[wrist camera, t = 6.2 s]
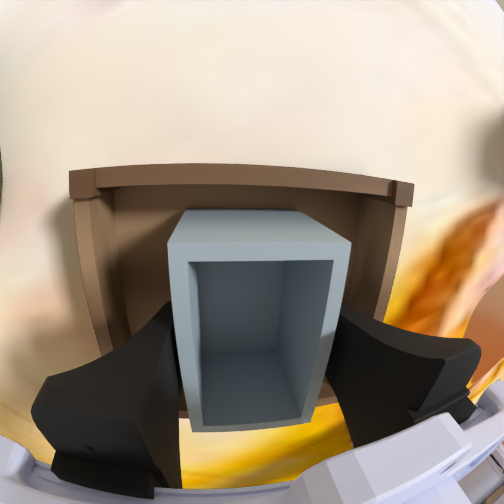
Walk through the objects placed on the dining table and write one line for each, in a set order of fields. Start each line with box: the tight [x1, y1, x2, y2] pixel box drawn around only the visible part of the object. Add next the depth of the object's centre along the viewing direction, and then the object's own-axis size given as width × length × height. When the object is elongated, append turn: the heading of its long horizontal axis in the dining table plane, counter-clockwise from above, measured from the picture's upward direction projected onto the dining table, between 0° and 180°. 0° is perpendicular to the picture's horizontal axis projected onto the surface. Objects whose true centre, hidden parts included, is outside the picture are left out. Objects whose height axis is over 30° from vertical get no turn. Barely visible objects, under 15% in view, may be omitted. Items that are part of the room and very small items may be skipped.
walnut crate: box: [69, 163, 414, 418], centre depth 12 cm, size 12×13×4 cm
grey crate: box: [167, 208, 351, 432], centre depth 11 cm, size 8×5×6 cm, turn 178°
